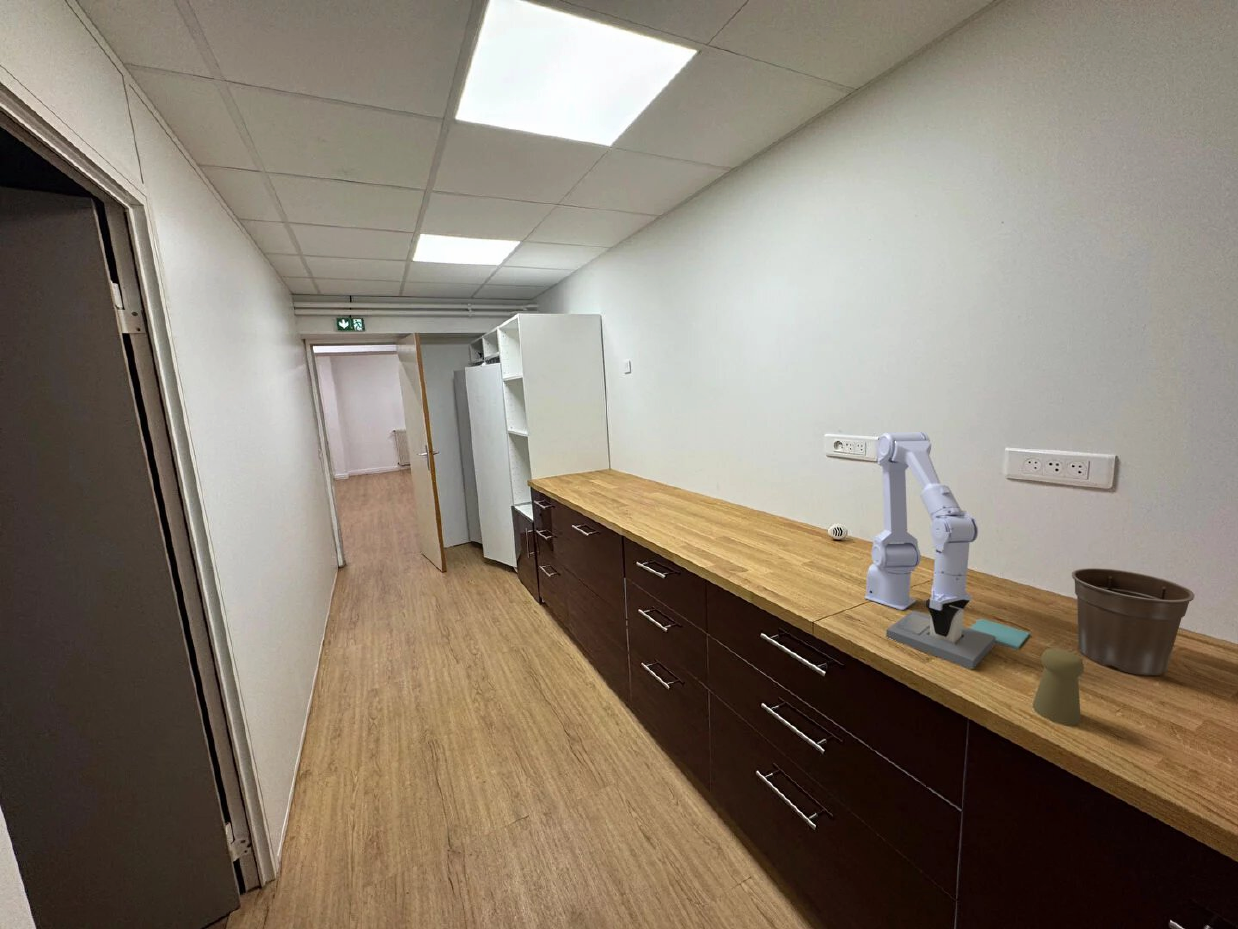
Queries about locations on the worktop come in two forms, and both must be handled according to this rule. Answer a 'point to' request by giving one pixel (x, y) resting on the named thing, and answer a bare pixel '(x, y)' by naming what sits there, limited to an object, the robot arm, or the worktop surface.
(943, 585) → the robot arm
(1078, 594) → the plant pot
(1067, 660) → the cork
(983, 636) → the grey slotted board
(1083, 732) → the worktop surface
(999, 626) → the mat
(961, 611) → the plug
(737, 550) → the worktop surface
